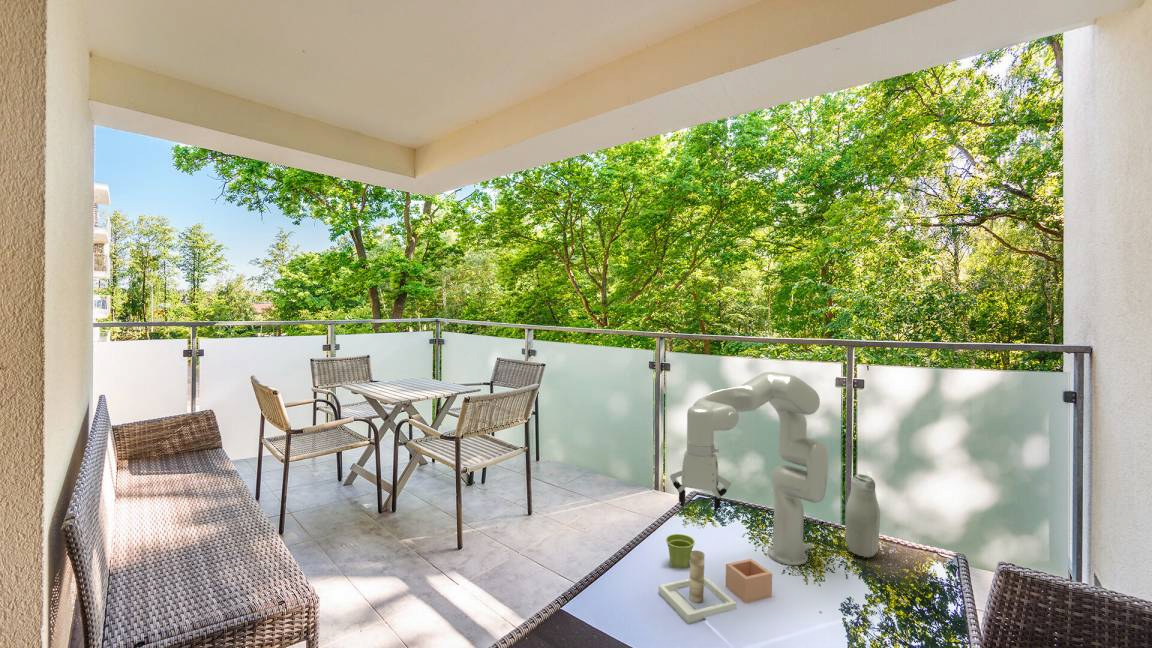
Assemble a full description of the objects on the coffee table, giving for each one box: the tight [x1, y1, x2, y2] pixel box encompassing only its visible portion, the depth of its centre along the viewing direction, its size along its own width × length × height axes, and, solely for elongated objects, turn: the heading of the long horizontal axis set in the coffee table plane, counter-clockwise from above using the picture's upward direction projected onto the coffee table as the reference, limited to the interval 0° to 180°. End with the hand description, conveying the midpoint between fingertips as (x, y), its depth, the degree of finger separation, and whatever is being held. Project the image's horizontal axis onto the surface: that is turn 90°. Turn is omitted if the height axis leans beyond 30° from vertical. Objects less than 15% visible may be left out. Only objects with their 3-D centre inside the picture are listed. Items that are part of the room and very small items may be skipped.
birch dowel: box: [689, 550, 705, 604], centre depth 156 cm, size 4×4×14 cm
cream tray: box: [658, 575, 737, 625], centre depth 156 cm, size 16×16×3 cm
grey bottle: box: [845, 473, 881, 558], centre depth 184 cm, size 10×10×28 cm
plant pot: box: [665, 533, 696, 569], centre depth 177 cm, size 9×9×9 cm
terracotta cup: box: [725, 558, 773, 604], centre depth 160 cm, size 9×9×8 cm
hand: (699, 507), depth 155 cm, fingers open, 9 cm apart
